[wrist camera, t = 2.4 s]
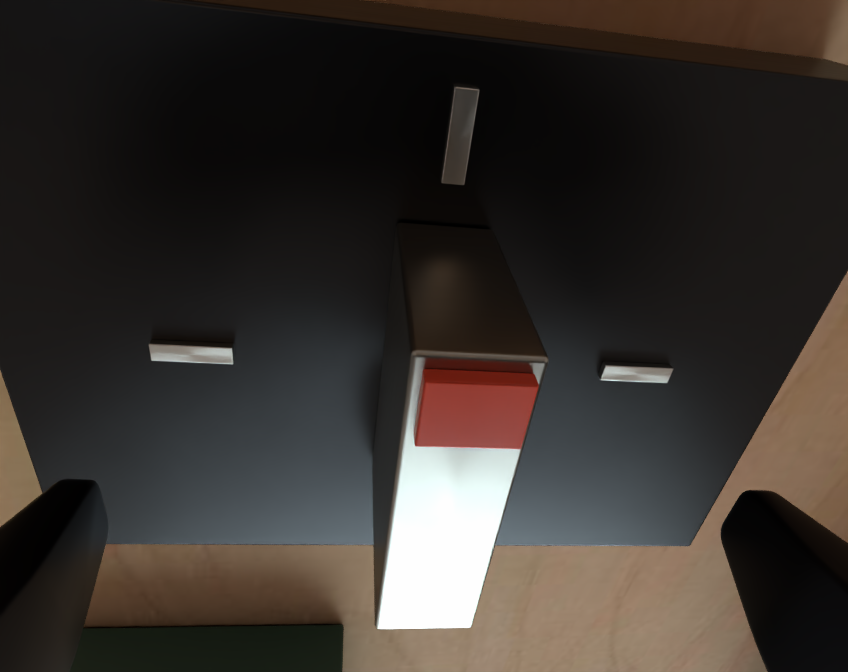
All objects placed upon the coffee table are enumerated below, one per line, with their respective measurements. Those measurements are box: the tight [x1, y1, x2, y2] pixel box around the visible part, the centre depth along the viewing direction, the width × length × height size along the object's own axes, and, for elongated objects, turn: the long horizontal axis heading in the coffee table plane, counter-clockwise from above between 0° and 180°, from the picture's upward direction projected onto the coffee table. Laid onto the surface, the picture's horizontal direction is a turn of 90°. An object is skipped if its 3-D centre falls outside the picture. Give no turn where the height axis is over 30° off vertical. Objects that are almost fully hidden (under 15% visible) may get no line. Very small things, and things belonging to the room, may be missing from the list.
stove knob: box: [372, 223, 549, 629], centre depth 10 cm, size 6×2×4 cm, turn 173°
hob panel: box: [0, 0, 848, 546], centre depth 12 cm, size 15×11×3 cm
